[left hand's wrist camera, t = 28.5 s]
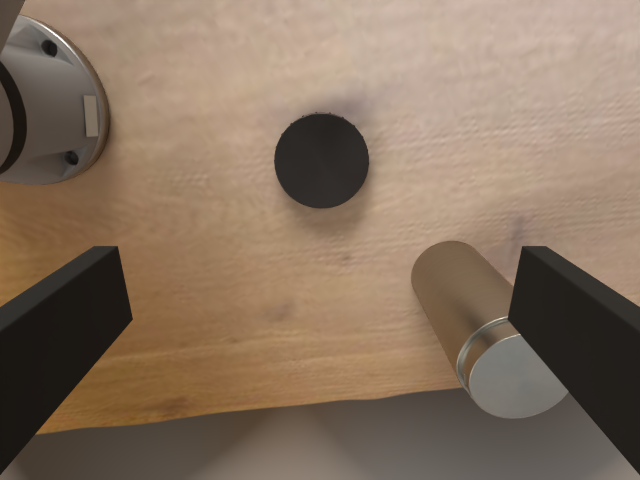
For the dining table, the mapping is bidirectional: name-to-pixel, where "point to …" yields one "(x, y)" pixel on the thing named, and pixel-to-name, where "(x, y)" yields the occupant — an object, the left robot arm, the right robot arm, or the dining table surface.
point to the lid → (321, 160)
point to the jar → (482, 332)
